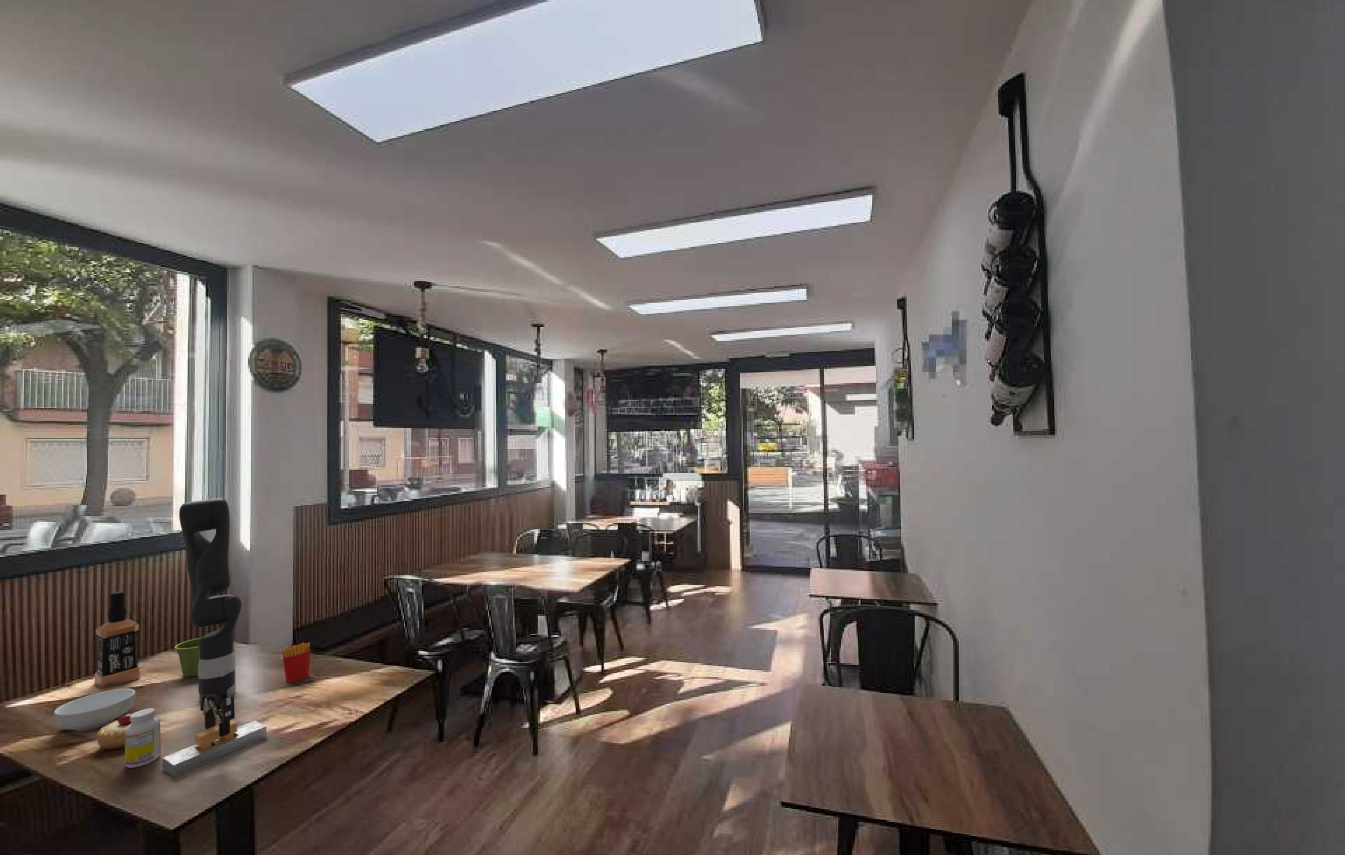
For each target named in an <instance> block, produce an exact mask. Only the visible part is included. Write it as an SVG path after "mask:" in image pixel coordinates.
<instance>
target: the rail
mask: <svg viewBox="0 0 1345 855" xmlns="http://www.w3.org/2000/svg"><path fill="white" fill-rule="evenodd" d="M263 737H265V738H266V737H267V725H264V724H263V723H261V722H259V721H257V720H253V721H250V722H248V723H244V724H243V725H240V726H237V732H234V738H231V739H229V740H227V741H222V738H220V739H217V740H215V741H213V742H211V747H210V748H207V749H205V750H203V751H199V745H197V744H195V743H194V744H193V745H191V746H188V747H187V748H186V747H185V748H183V749H181V750H179V751H176V752H174V753H171V754H169V755H166V756H164V757H162V770H163V771H164V772H165V773H167V774H169V775H170V776H172V777H173V778H176V777H178V776H180V775H183V774H184V773H187V772H189V771H192V770H194V769H196V768H198V767H201V766H203V765H205V764H208V763H210V762H212V761H214V760H217V759H218V758H222V757H223V756H226V755H229V754H231V753H233V752H235V751H238V750H240V749H242V748H245V747H246V746H249V745H251V744H253V743H256V742H258V741H260V740H262V738H263ZM263 739H264V738H263ZM248 744H249V745H248Z"/></svg>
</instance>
